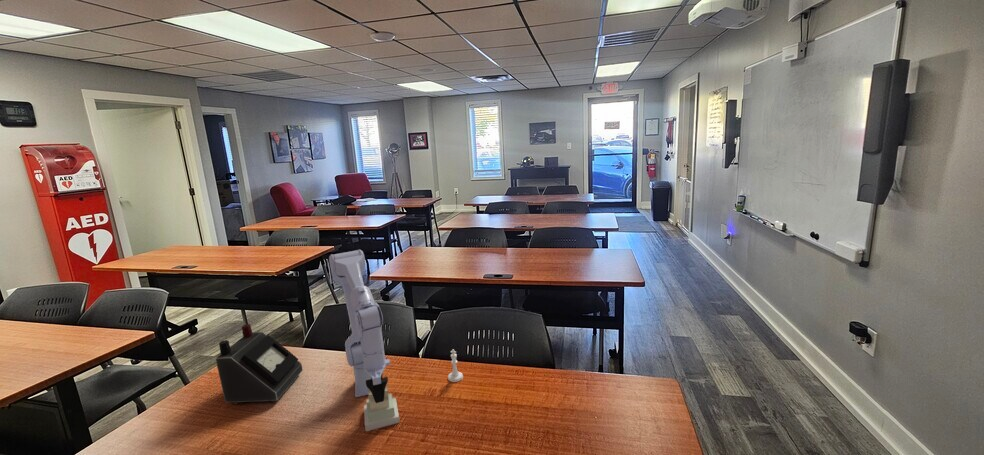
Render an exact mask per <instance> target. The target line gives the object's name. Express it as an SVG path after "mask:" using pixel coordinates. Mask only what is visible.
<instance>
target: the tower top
mask: <svg viewBox="0 0 984 455" xmlns="http://www.w3.org/2000/svg"><path fill="white" fill-rule="evenodd" d="M388 398H389V406H390V407H386V408H382V409H378V410H374V411H371V408H370V401H369V398H368V399H367V398H366V400H365V401H366V405H367V413H368V421H369V423H370V422H373V421H377V420H381V419H384V418H388V417H392V416H395V412H394V405H393V400H392V398H393V395H392V393H388Z"/></svg>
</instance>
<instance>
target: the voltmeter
mask: <svg viewBox="0 0 984 455" xmlns="http://www.w3.org/2000/svg"><path fill="white" fill-rule="evenodd" d="M241 332H242V337H241V338H240V339H238V340H237V341H235V343H233V344H232V345H230V342H229V340H226V339H225V340H222V341H220V342H219V343H218V346H219V352H220V354H219V355H218V356H216V357H215V359H214V360H215V364H216V368H217V372H218V376H219V380H220V381H219V382H220V384H221V389H222V394H223V397H224V403H233V404H234V403H237V404H239V403H245V402H269V401H271V403H277V402H278V401H279V400H280V397H282V396H283V394H284V393H285V392H287V390H288V388H290V386H291V384H293V383H294V382H295V380H297V379H298V377H299V376H300V374H301V373H302V372H303V371H304V369H303V363H301V362H300V361H299V358H298V357H296V356H295V354H293V353H292V352H291V351H289V350H288V349H287V348H286V347H284V346H283V345H282V344H281V343H279V342H278V341H277V340H276V339H274V338H273V337H272V336H270V334H266V333H264V332H263V331H256V332H255V331H254V332H253V329H252V326H251V324H249V323H248V324H243V325H242V326H241ZM238 402H239V403H238Z"/></svg>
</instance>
